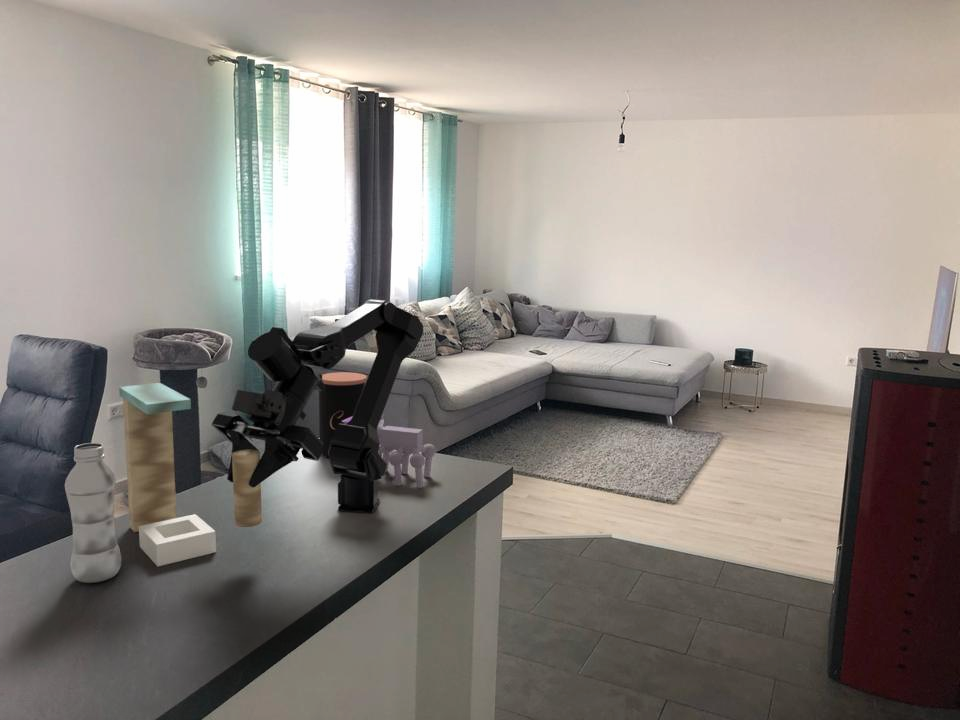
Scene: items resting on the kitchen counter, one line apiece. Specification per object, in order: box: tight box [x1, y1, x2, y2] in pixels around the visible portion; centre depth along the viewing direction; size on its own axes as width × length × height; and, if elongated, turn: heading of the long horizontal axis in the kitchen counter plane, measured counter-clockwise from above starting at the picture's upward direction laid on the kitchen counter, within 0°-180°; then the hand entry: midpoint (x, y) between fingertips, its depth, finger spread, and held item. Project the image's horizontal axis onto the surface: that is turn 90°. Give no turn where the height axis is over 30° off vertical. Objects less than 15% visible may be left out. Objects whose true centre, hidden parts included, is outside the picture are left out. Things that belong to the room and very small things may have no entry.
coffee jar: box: [318, 371, 368, 459], centre depth 176 cm, size 11×11×18 cm
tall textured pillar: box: [118, 382, 192, 533], centre depth 127 cm, size 8×15×24 cm, turn 39°
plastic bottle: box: [64, 442, 123, 584], centre depth 112 cm, size 6×7×20 cm
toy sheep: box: [342, 414, 437, 489], centre depth 161 cm, size 20×11×14 cm, turn 73°
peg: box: [231, 449, 263, 528], centre depth 119 cm, size 4×4×11 cm
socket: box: [138, 513, 217, 567], centre depth 124 cm, size 9×9×4 cm
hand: (240, 483), depth 117 cm, fingers closed on peg, 4 cm apart
